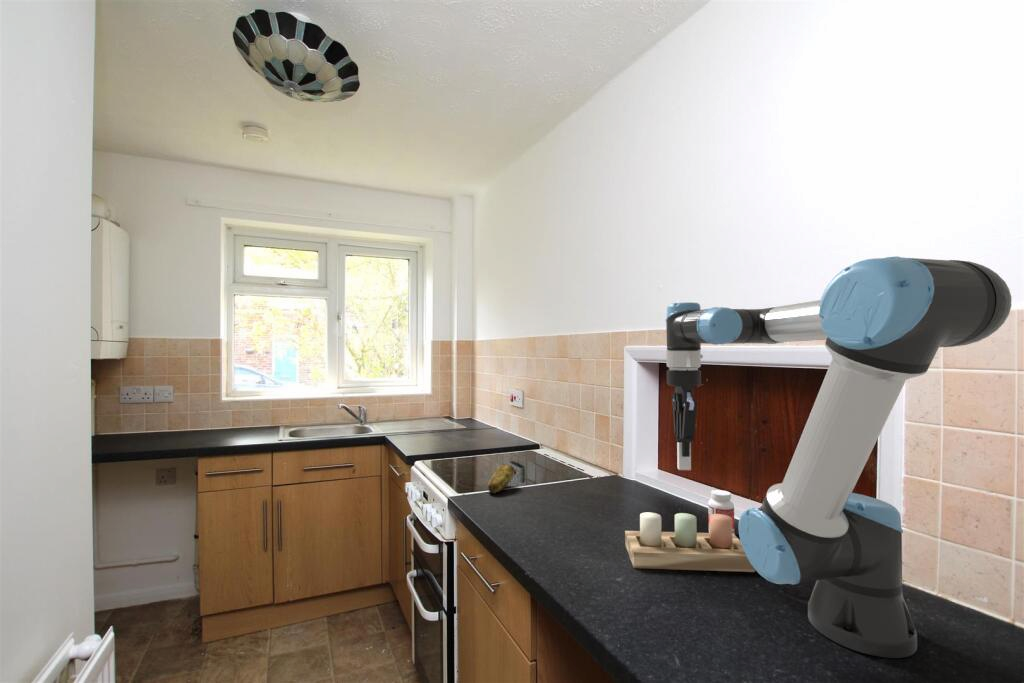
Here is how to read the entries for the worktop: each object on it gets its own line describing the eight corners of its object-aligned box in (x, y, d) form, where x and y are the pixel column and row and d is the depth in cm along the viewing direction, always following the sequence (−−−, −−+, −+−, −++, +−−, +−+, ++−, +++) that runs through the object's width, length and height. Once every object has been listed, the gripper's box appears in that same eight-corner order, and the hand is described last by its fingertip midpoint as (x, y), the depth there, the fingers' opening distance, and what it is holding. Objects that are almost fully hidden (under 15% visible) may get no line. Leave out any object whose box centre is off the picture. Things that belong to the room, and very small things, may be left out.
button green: (699, 547, 106) (699, 520, 106) (678, 546, 106) (677, 520, 106) (693, 538, 110) (692, 513, 110) (672, 537, 111) (672, 512, 111)
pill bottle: (739, 536, 120) (738, 493, 120) (725, 541, 117) (725, 497, 117) (717, 528, 125) (716, 487, 125) (703, 533, 122) (703, 491, 122)
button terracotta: (735, 548, 105) (735, 521, 105) (714, 547, 105) (713, 521, 105) (727, 539, 110) (727, 514, 110) (707, 538, 110) (706, 513, 110)
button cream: (663, 546, 106) (663, 520, 106) (642, 545, 107) (642, 519, 107) (658, 537, 111) (658, 512, 111) (638, 537, 111) (638, 512, 111)
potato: (478, 491, 159) (478, 468, 159) (505, 483, 167) (505, 461, 168) (494, 496, 153) (494, 472, 153) (521, 488, 162) (521, 465, 162)
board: (755, 571, 101) (754, 555, 101) (633, 568, 103) (633, 552, 103) (733, 548, 113) (733, 533, 113) (625, 544, 115) (625, 530, 115)
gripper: (709, 370, 102) (710, 477, 102) (691, 367, 115) (692, 462, 115) (674, 370, 102) (675, 477, 102) (660, 367, 115) (661, 461, 115)
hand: (684, 469), depth 109 cm, fingers closed
